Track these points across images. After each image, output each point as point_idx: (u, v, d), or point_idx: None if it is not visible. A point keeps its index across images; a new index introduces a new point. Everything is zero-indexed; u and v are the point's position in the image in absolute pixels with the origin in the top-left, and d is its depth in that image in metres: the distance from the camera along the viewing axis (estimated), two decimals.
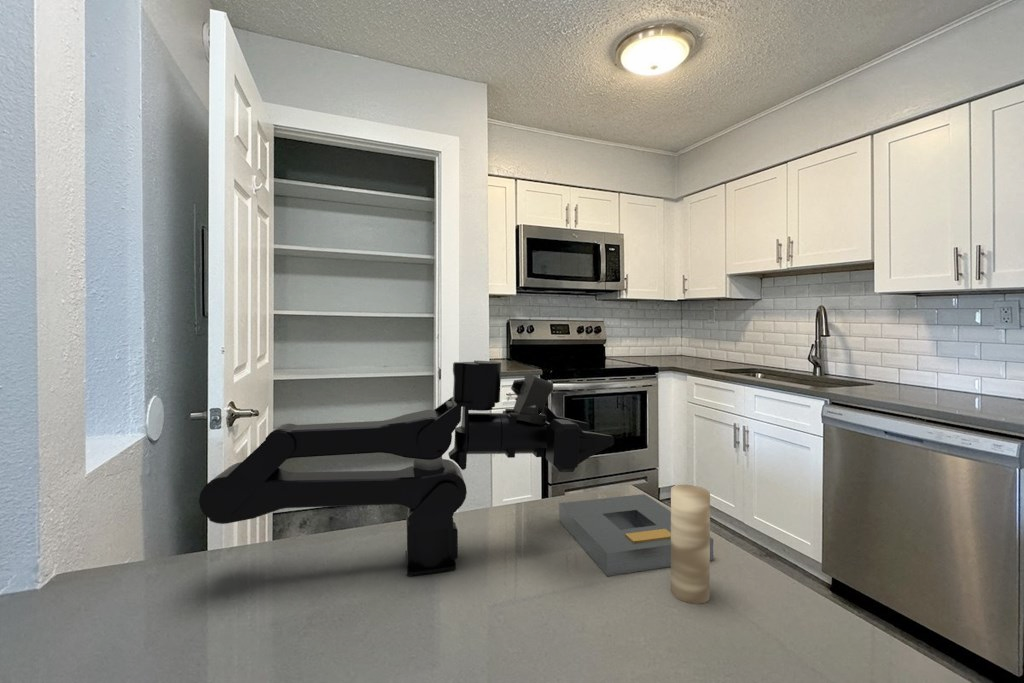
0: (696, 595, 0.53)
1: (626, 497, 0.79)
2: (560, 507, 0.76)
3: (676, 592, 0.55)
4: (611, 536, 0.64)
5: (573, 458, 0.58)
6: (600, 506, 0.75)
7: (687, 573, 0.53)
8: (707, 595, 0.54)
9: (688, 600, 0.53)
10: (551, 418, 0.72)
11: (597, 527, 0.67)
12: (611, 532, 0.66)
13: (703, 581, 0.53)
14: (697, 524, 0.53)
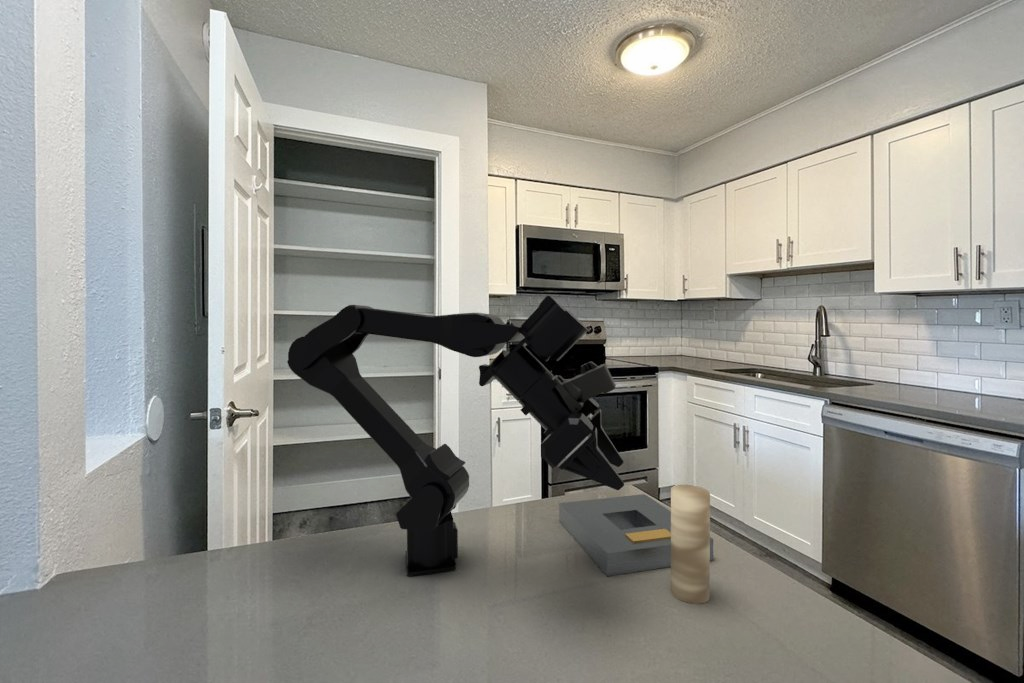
0: (696, 595, 0.53)
1: (626, 497, 0.79)
2: (560, 507, 0.76)
3: (676, 592, 0.55)
4: (611, 536, 0.64)
5: (562, 456, 0.50)
6: (600, 506, 0.75)
7: (687, 573, 0.53)
8: (707, 595, 0.54)
9: (688, 600, 0.53)
10: (594, 424, 0.63)
11: (597, 527, 0.67)
12: (611, 532, 0.66)
13: (703, 581, 0.53)
14: (697, 524, 0.53)
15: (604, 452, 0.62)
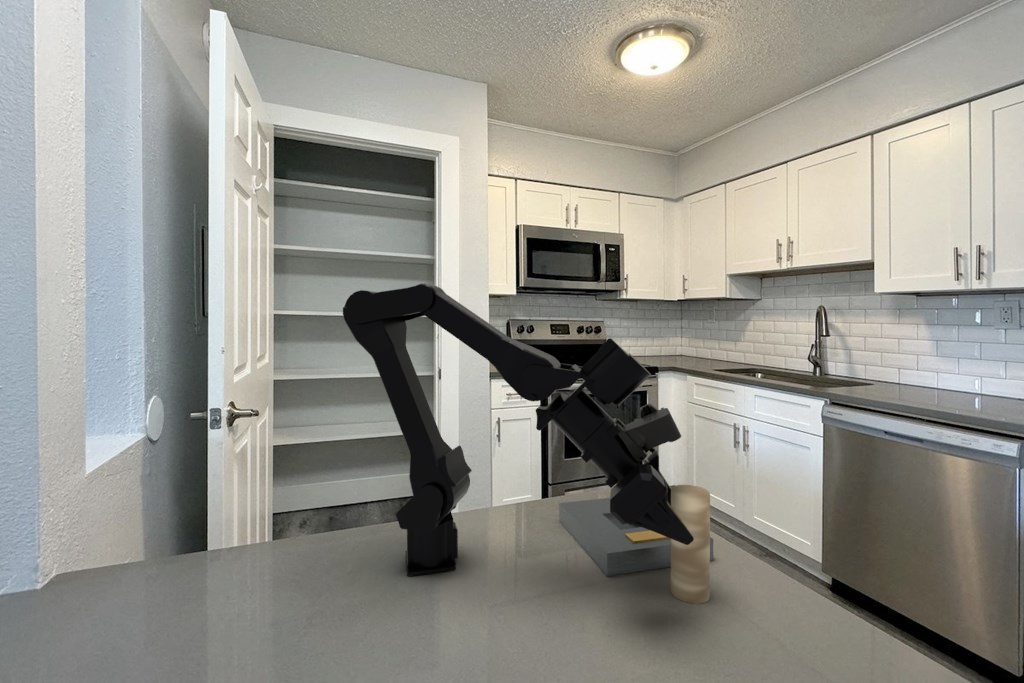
0: (696, 595, 0.53)
1: None
2: (560, 507, 0.76)
3: (676, 592, 0.55)
4: (611, 536, 0.64)
5: (633, 513, 0.48)
6: (600, 506, 0.75)
7: (687, 573, 0.53)
8: (707, 595, 0.54)
9: (688, 600, 0.53)
10: (652, 468, 0.61)
11: (597, 527, 0.67)
12: (611, 532, 0.66)
13: (703, 581, 0.53)
14: (697, 524, 0.53)
15: None
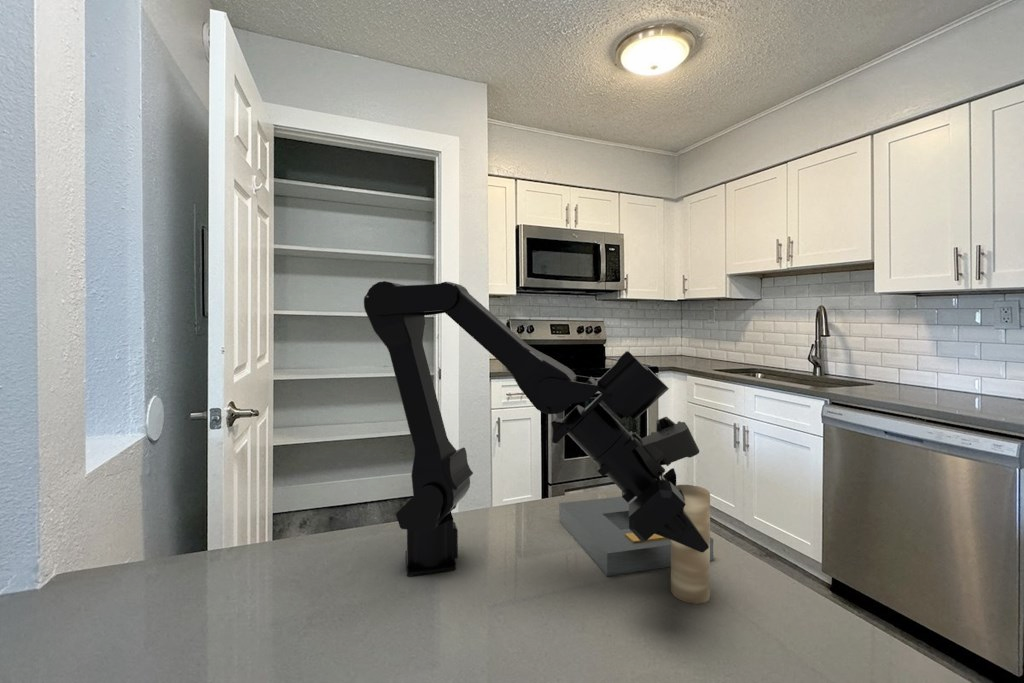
0: (696, 595, 0.53)
1: None
2: (560, 507, 0.76)
3: (676, 592, 0.55)
4: (611, 536, 0.64)
5: (653, 530, 0.47)
6: (600, 506, 0.75)
7: (687, 573, 0.53)
8: (707, 595, 0.54)
9: (688, 600, 0.53)
10: None
11: (597, 527, 0.67)
12: (611, 532, 0.66)
13: (703, 581, 0.53)
14: (697, 524, 0.53)
15: None
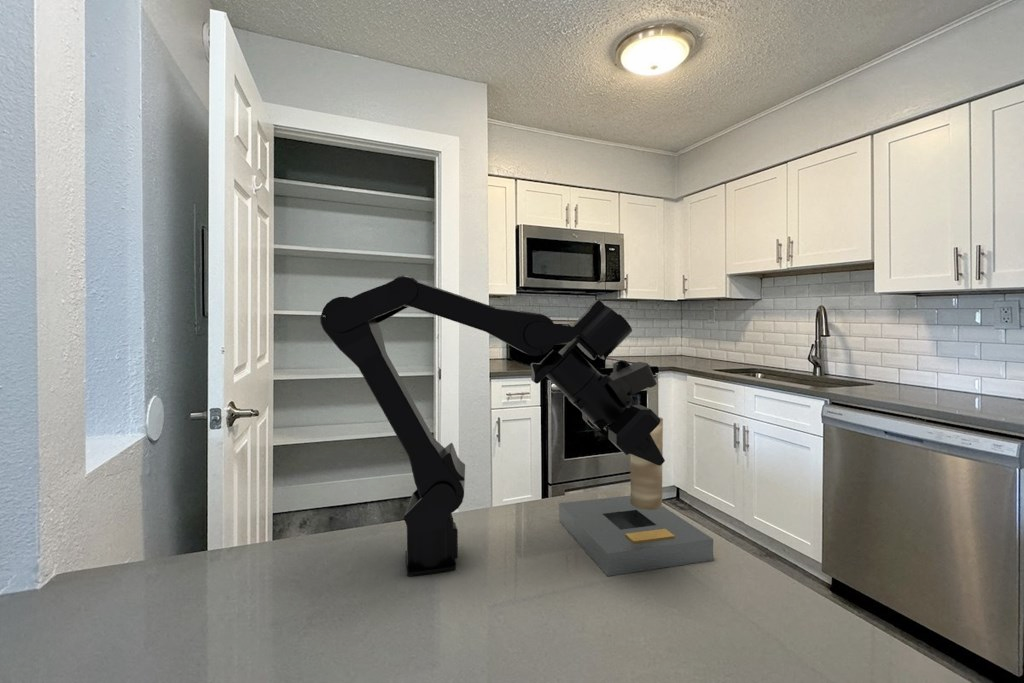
0: (654, 502, 0.64)
1: (626, 497, 0.79)
2: (560, 507, 0.76)
3: (638, 503, 0.65)
4: (611, 536, 0.64)
5: (637, 443, 0.56)
6: (600, 506, 0.75)
7: (648, 485, 0.64)
8: (661, 502, 0.65)
9: (648, 507, 0.64)
10: None
11: (597, 527, 0.67)
12: (611, 532, 0.66)
13: (659, 490, 0.64)
14: (656, 443, 0.64)
15: None
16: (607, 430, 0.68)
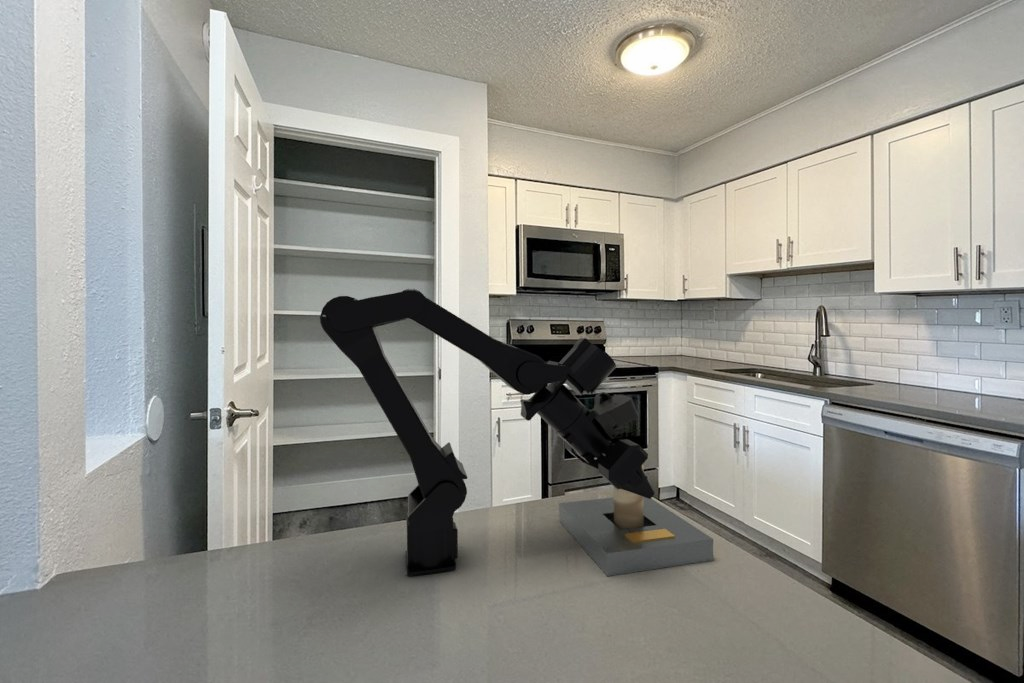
0: None
1: None
2: (560, 507, 0.76)
3: None
4: (611, 536, 0.64)
5: (627, 478, 0.60)
6: (600, 506, 0.75)
7: (631, 522, 0.68)
8: None
9: None
10: None
11: (597, 527, 0.67)
12: (611, 532, 0.66)
13: (641, 526, 0.68)
14: None
15: None
16: None
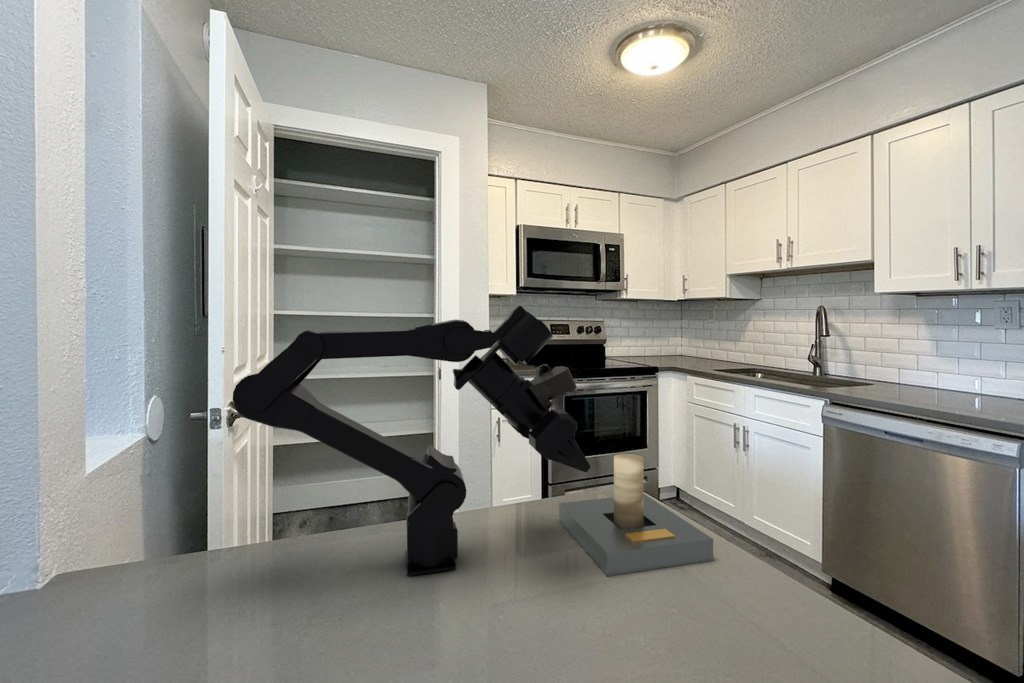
0: None
1: None
2: (560, 507, 0.76)
3: None
4: (611, 536, 0.64)
5: (555, 447, 0.57)
6: (600, 506, 0.75)
7: (631, 522, 0.68)
8: None
9: None
10: None
11: (597, 527, 0.67)
12: (611, 532, 0.66)
13: (641, 526, 0.68)
14: (638, 482, 0.68)
15: None
16: (527, 431, 0.71)
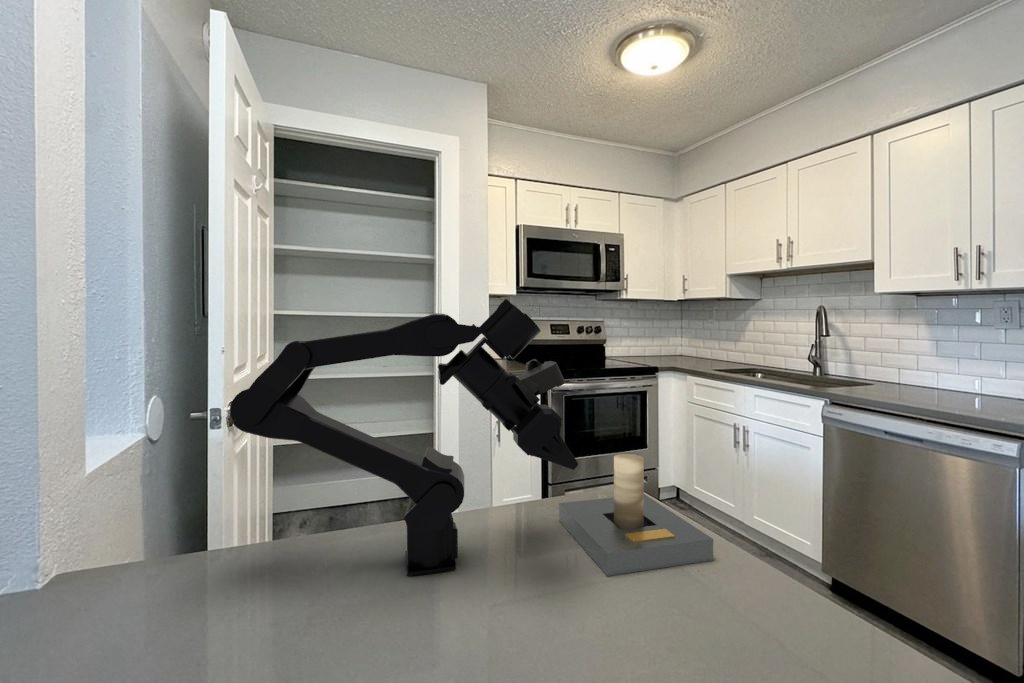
0: None
1: None
2: (560, 507, 0.76)
3: None
4: (611, 536, 0.64)
5: (538, 443, 0.56)
6: (600, 506, 0.75)
7: (631, 522, 0.68)
8: None
9: None
10: None
11: (597, 527, 0.67)
12: (611, 532, 0.66)
13: (641, 526, 0.68)
14: (638, 482, 0.68)
15: None
16: None
